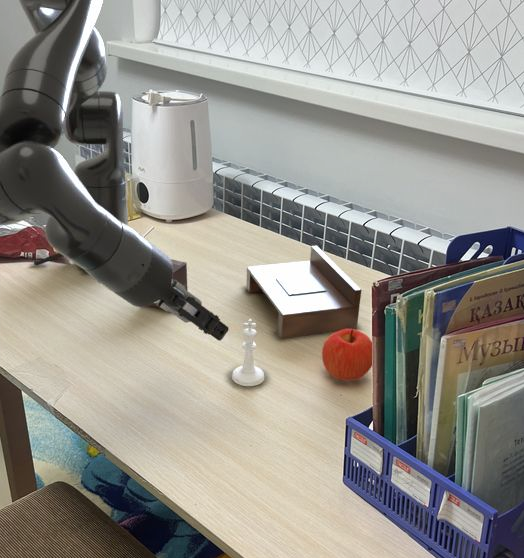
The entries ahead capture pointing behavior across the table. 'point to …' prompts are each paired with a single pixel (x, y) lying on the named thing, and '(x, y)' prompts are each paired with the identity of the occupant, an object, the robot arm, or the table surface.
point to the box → (178, 275)
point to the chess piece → (248, 361)
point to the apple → (347, 354)
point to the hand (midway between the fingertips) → (205, 321)
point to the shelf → (308, 295)
